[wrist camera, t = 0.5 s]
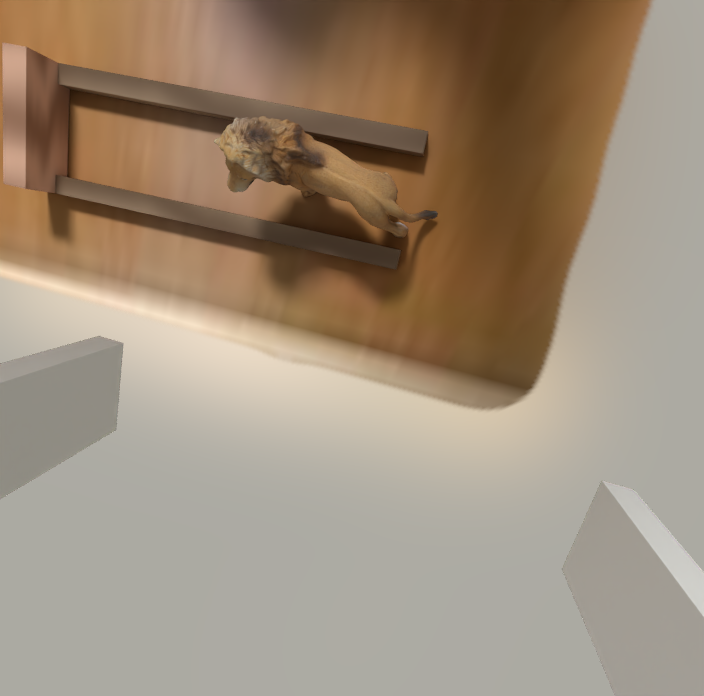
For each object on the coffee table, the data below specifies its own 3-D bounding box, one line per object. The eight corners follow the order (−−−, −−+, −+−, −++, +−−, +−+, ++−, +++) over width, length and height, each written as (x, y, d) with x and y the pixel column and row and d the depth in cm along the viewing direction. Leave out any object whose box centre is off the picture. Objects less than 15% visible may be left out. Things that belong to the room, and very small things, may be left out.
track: (49, 65, 35) (2, 42, 31) (428, 135, 31) (428, 119, 28) (46, 190, 38) (3, 183, 34) (396, 268, 34) (393, 271, 30)
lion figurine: (254, 198, 35) (197, 181, 26) (268, 129, 33) (213, 87, 25) (426, 247, 33) (427, 247, 25) (448, 177, 32) (457, 151, 23)
